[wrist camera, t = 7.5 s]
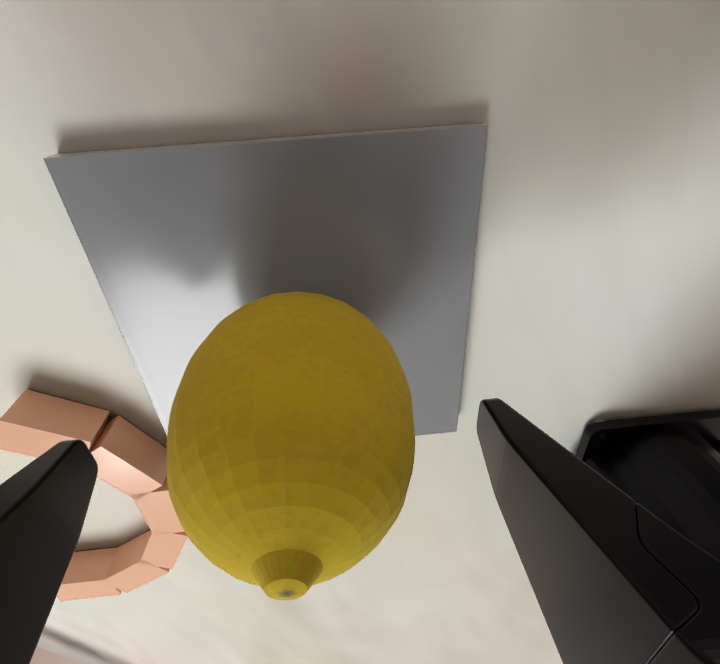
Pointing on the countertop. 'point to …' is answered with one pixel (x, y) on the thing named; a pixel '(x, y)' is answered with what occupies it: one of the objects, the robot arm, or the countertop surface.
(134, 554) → the c ring
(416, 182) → the slate coaster
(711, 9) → the countertop surface
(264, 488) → the lemon
